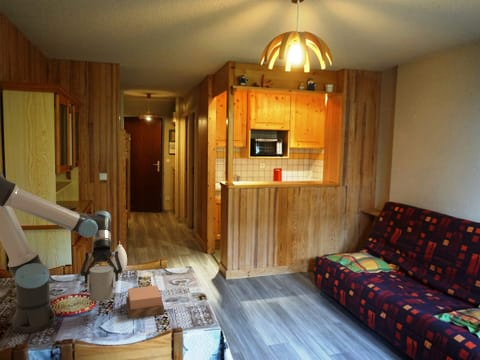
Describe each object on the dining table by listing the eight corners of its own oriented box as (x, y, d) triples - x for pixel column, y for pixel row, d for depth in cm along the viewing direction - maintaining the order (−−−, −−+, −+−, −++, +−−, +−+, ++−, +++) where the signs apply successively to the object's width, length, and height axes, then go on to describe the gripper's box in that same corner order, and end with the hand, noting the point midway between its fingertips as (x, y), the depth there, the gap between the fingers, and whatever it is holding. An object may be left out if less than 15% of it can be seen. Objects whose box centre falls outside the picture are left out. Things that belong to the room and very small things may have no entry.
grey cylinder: (103, 290, 164) (103, 263, 163) (118, 295, 159) (118, 268, 158) (84, 297, 156) (84, 269, 155) (99, 303, 151) (99, 274, 150)
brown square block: (130, 309, 156) (130, 300, 156) (128, 297, 168) (128, 288, 168) (161, 305, 161) (161, 296, 160) (156, 293, 173) (156, 285, 172)
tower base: (128, 320, 155) (127, 311, 155) (126, 304, 169) (126, 296, 169) (163, 314, 161) (163, 306, 160) (159, 300, 175) (159, 292, 174)
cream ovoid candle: (129, 269, 213) (129, 239, 211) (123, 274, 205) (123, 242, 203) (116, 268, 214) (115, 238, 212) (110, 273, 206) (109, 242, 204)
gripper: (127, 245, 174) (128, 290, 161) (76, 247, 167) (73, 295, 153) (128, 237, 169) (129, 283, 155) (75, 239, 161) (71, 288, 148)
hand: (101, 289), depth 154 cm, fingers closed on grey cylinder, 9 cm apart
